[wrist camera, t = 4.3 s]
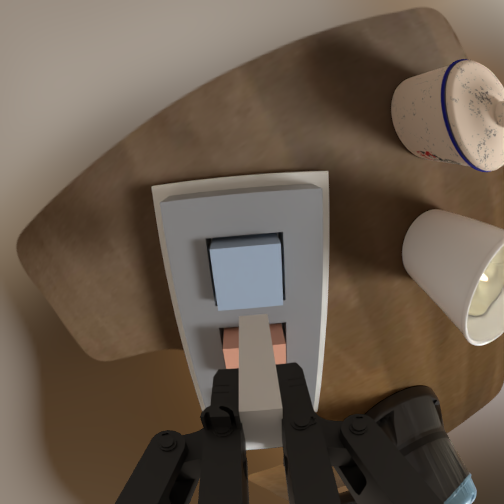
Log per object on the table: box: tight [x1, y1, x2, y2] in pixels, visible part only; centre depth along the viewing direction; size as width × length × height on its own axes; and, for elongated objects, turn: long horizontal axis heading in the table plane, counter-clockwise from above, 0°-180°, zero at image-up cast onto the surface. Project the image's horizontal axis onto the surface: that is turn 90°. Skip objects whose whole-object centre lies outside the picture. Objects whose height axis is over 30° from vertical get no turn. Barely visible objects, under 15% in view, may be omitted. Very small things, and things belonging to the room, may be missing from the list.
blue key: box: [210, 232, 283, 311], centre depth 22 cm, size 5×5×3 cm
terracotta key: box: [223, 323, 286, 369], centre depth 24 cm, size 5×5×3 cm
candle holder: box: [402, 209, 504, 346], centre depth 21 cm, size 10×10×12 cm
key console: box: [152, 171, 329, 412], centre depth 27 cm, size 30×15×4 cm, turn 4°
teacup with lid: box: [391, 59, 504, 172], centre depth 17 cm, size 12×9×12 cm
